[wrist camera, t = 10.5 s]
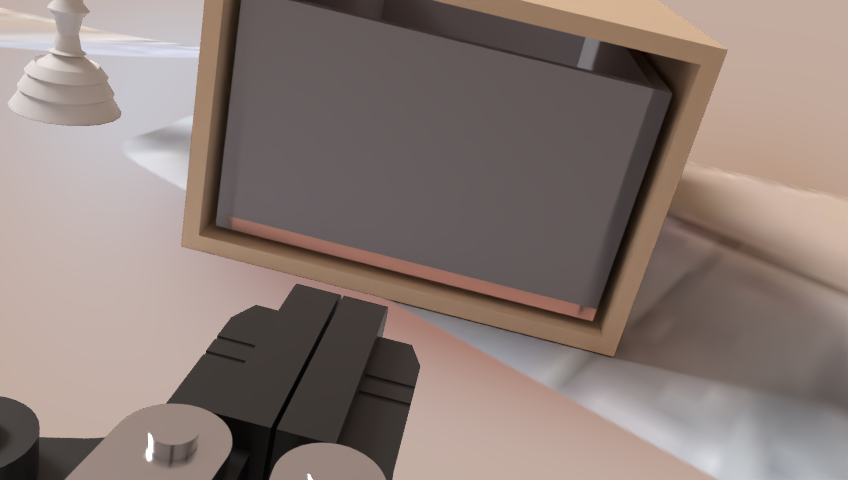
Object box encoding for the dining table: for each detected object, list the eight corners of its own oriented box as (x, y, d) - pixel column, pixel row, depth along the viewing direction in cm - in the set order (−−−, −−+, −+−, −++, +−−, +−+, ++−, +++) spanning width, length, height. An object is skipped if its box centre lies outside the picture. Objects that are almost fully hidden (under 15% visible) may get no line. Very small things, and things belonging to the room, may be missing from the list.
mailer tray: (592, 321, 28) (672, 93, 24) (215, 225, 28) (242, -11, 25) (565, 132, 52) (604, 4, 48) (361, 82, 52) (385, -49, 49)
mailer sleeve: (613, 356, 28) (729, 46, 23) (181, 246, 28) (212, -78, 24) (584, 191, 44) (648, -9, 40) (311, 123, 45) (344, -82, 40)
